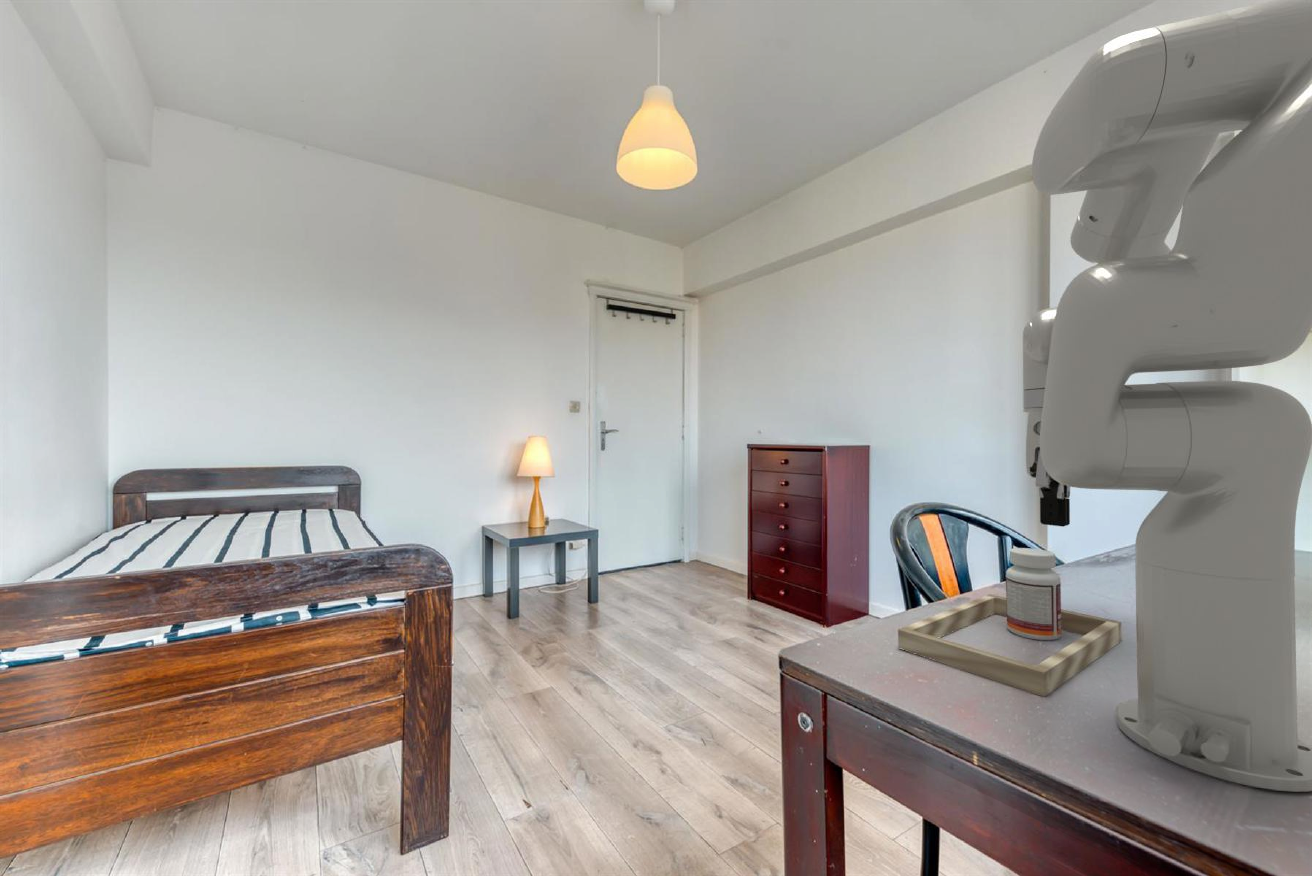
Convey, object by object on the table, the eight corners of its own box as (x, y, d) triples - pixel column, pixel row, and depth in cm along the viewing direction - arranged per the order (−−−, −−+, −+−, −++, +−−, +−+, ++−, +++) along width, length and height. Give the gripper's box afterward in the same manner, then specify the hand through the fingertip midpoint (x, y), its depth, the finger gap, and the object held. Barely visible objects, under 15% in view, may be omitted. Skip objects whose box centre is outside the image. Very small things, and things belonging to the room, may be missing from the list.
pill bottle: (1031, 624, 77) (1030, 546, 77) (1073, 639, 71) (1071, 554, 71) (995, 627, 76) (994, 548, 76) (1035, 643, 70) (1034, 557, 70)
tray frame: (1044, 696, 55) (1044, 672, 55) (898, 648, 68) (898, 629, 68) (1121, 640, 70) (1121, 621, 70) (989, 610, 83) (989, 594, 83)
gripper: (1065, 399, 71) (1066, 535, 72) (1102, 401, 80) (1103, 522, 80) (1003, 402, 78) (1004, 527, 78) (1044, 403, 86) (1044, 516, 86)
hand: (1054, 524), depth 79 cm, fingers closed
